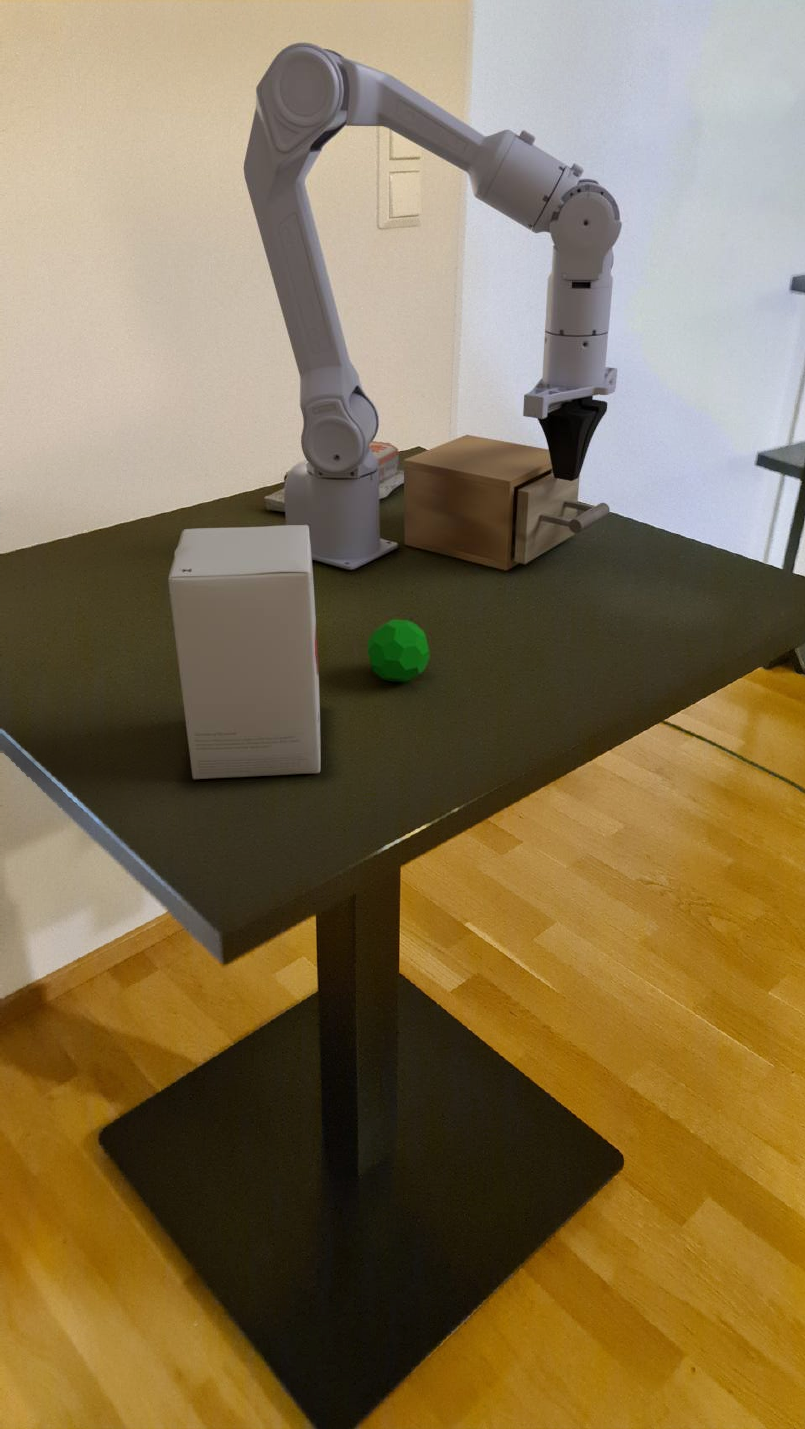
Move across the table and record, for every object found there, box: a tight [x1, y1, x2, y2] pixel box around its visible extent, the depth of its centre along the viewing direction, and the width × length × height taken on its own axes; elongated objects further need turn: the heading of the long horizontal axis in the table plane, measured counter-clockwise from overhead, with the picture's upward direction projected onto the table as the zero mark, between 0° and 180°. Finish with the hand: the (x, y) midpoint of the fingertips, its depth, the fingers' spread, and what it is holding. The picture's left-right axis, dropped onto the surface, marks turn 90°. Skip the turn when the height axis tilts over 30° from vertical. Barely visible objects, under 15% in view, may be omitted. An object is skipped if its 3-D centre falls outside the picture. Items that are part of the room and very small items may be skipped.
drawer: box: [511, 469, 611, 565], centre depth 104 cm, size 16×10×7 cm, turn 53°
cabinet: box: [403, 434, 552, 571], centre depth 106 cm, size 13×12×9 cm
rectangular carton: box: [167, 524, 322, 780], centre depth 70 cm, size 9×9×15 cm
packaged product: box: [263, 440, 404, 513], centre depth 121 cm, size 18×5×10 cm
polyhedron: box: [366, 619, 431, 683], centre depth 81 cm, size 5×5×5 cm
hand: (566, 477), depth 100 cm, fingers closed
